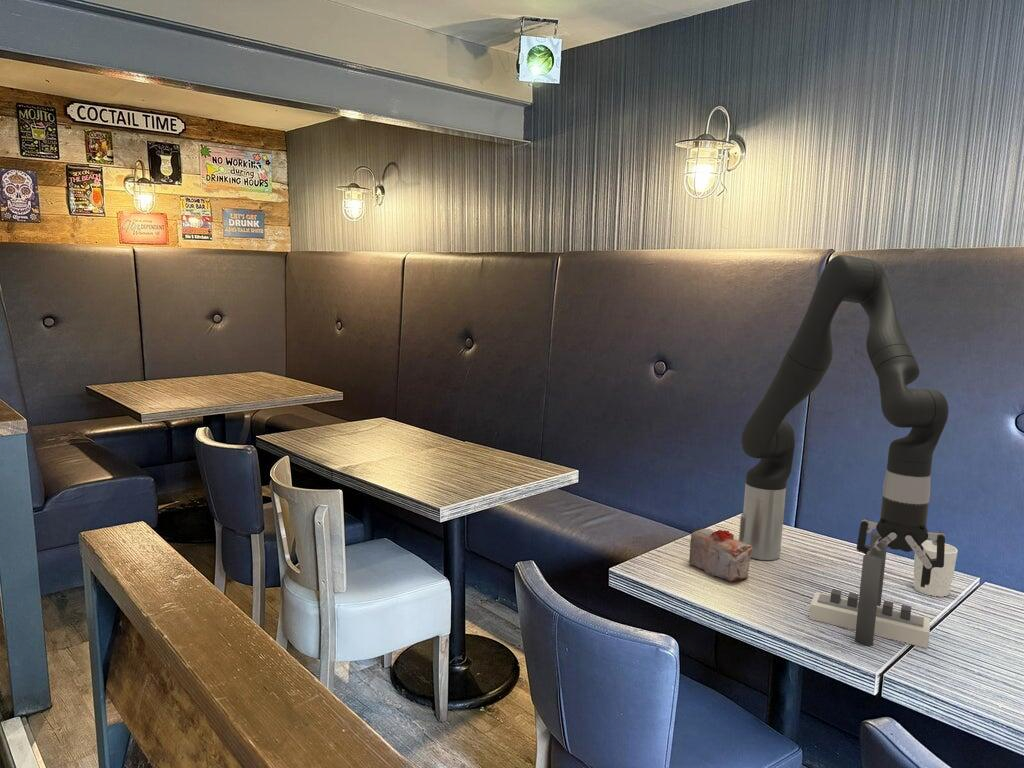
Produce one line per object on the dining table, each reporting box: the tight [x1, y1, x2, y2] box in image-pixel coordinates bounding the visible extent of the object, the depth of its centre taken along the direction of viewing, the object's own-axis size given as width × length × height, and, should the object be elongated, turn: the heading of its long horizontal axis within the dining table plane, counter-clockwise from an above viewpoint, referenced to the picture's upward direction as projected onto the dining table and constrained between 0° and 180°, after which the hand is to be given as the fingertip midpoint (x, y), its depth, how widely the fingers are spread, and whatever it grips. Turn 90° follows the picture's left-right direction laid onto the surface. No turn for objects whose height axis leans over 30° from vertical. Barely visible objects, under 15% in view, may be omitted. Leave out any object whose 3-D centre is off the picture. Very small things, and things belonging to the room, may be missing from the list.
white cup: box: [913, 539, 958, 598], centre depth 153 cm, size 8×8×10 cm
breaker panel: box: [808, 588, 931, 649], centre depth 136 cm, size 20×7×5 cm, turn 58°
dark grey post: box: [854, 554, 882, 647], centre depth 129 cm, size 3×3×16 cm
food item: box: [688, 528, 752, 582], centre depth 159 cm, size 14×8×10 cm, turn 37°
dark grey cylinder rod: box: [869, 531, 888, 607], centre depth 141 cm, size 3×3×16 cm
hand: (896, 580), depth 133 cm, fingers open, 8 cm apart
